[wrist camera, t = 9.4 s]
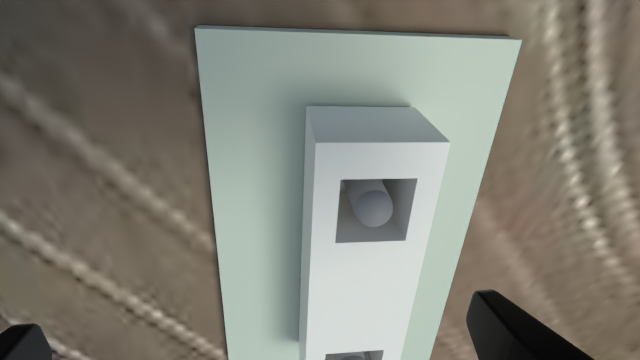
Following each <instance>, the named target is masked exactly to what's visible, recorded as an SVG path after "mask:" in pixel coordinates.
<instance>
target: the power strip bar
mask: <svg viewBox="0 0 640 360" xmlns="http://www.w3.org/2000/svg"><path fill="white" fill-rule="evenodd" d="M450 144H451V142H450V141H449V140H448V139H447V138H446V137H445V136H444V135H443V134H442V133H441V132H440V131H439V130H438V129H437V128H436V127H435V126H434V125H433V124H432V123H431V122H430V121H428V120H427V119H426V118H425V117H424V116H423V115H422V114H421V113H420V112H419V111H418V110H417V109H416V108H415V107H340V106H306V127H305V158H304V190H303V221H302V252H301V283H300V315H299V359H300V360H335V357H334V353H348V352H362V351H363V352H364V356H365V360H400V359H401V354H402V350H403V346H404V342H405V337H406V333H407V329H408V324H409V320H410V316H411V311H412V307H413V303H414V299H415V294H416V290H417V286H418V281H419V277H420V273H421V268H422V264H423V260H424V256H425V251H426V247H427V243H428V238H429V234H430V230H431V225H432V221H433V217H434V213H435V208H436V204H437V200H438V195H439V191H440V187H441V182H442V178H443V174H444V170H445V165H446V161H447V157H448V152H449V148H450ZM343 179H383V184H384V186H385V188H386V190H387V192H388V194H389V196H390V197H391V200H392V202H393V212H392V215H391V217H390V219H389V220H388V221H387V222H386V223H385V224H383V225H381V226H378V227H368V226H366V225H363V224H362V223H361V222H359V221H358V219H357V218H356V216H355V214H354V211H353V208H352V205H351V203H350V200H349V197H348V194H347V193H340V181H341V180H343Z"/></svg>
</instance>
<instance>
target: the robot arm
mask: <svg viewBox="0 0 640 360" xmlns="http://www.w3.org/2000/svg"><path fill="white" fill-rule="evenodd" d="M466 323H467V327H468V330H469V333H470V336H471V339H472V342H473V344H474V347H475V350H476V353H477V356H478V359H479V360H594V359H593V358H591V357H590V356H589V355H587V354H586V353H584V352H583V351H581V350H580V349H579V348H577V347H576V346H574V345H573V344H571V343H570V342H569V341H567V340H566V339H564V338H563V337H561V336H560V335H559V334H557V333H556V332H554V331H553V330H551V329H550V328H548V327H547V326H546V325H544V324H543V323H541V322H540V321H538V320H537V319H536V318H534V317H533V316H531V315H530V314H528V313H527V312H526V311H524V310H523V309H521V308H520V307H518V306H517V305H516V304H514V303H513V302H511V301H510V300H508V299H507V298H505V297H504V296H503V295H501V294H500V293H498V292H497V291H495V290H492V289H488V290H477V291H475V292H474V293H473V295H472V298H471V302H470V305H469V309H468V312H467V316H466ZM0 360H52V350H51V348H50V346H49V344H48V342H47V340H46V337H45V335H44V333H43V331H42V329H41V328H40V326H39V325H37V324H34V323H32V324H19V325H14V326H11V327H9V328H8V329H6V330H5V331H4V332H2V333H1V334H0Z"/></svg>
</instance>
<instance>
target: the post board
mask: <svg viewBox="0 0 640 360" xmlns="http://www.w3.org/2000/svg"><path fill="white" fill-rule="evenodd" d="M194 29H195V39H196V49H197V58H198V68H199V78H200V87H201V97H202V107H203V116H204V126H205V136H206V146H207V155H208V165H209V175H210V184H211V194H212V204H213V213H214V223H215V233H216V243H217V252H218V262H219V272H220V281H221V291H222V301H223V311H224V320H225V330H226V340H227V349H228V359H229V360H300V359H299V315H300V283H301V252H302V221H303V190H304V158H305V127H306V106H340V107H415V108H416V109H417V110H418V111H419V112H420V113H421V114H422V115H423V116H424V117H425V118H426V119H427V120H428V121H430V122H431V123H432V124H433V125H434V126H435V127H436V128H437V129H438V130H439V131H440V132H441V133H442V134H443V135H444V136H445V137H446V138H447V139H448V140H449V141H450V142H451V144H450V148H449V152H448V157H447V161H446V165H445V170H444V174H443V178H442V182H441V187H440V191H439V195H438V200H437V204H436V208H435V213H434V217H433V221H432V225H431V230H430V234H429V238H428V243H427V247H426V251H425V256H424V260H423V264H422V268H421V273H420V277H419V281H418V286H417V290H416V294H415V299H414V303H413V307H412V311H411V316H410V320H409V324H408V329H407V333H406V337H405V342H404V346H403V350H402V354H401V359H400V360H429V359H430V355H431V352H432V348H433V345H434V341H435V338H436V335H437V331H438V328H439V324H440V321H441V317H442V314H443V310H444V307H445V304H446V300H447V297H448V293H449V290H450V286H451V283H452V280H453V276H454V273H455V269H456V266H457V262H458V259H459V255H460V252H461V249H462V245H463V242H464V238H465V235H466V231H467V228H468V224H469V221H470V218H471V214H472V211H473V207H474V204H475V200H476V197H477V194H478V190H479V187H480V183H481V180H482V176H483V173H484V169H485V166H486V163H487V159H488V156H489V152H490V149H491V145H492V142H493V138H494V135H495V132H496V128H497V125H498V121H499V118H500V114H501V111H502V108H503V104H504V101H505V97H506V94H507V90H508V87H509V83H510V80H511V77H512V73H513V70H514V66H515V63H516V59H517V56H518V52H519V49H520V46H521V42H522V40H521V39H517V38H514V37H511V36H489V35H461V34H433V33H405V32H377V31H350V30H322V29H294V28H266V27H238V26H211V25H198V26H197V27H196V28H194ZM340 193H347V194H348V197H349V200H350V203H351V205H352V208H353V211H354V214H355V216H356V218H357V219H358V221H359V222H361V223H362V224H363V225H366V226H368V227H378V226H381V225H383V224H385V223H386V222H387V221H388V220H389V219H390V217H391V215H392V212H393V202H392V200H391V197H390V196H389V194H388V192H387V190H386V188H385V186H384V184H383V179H343V180H341V181H340ZM334 357H335V360H365V356H364V352H363V351H362V352H348V353H334Z"/></svg>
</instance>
